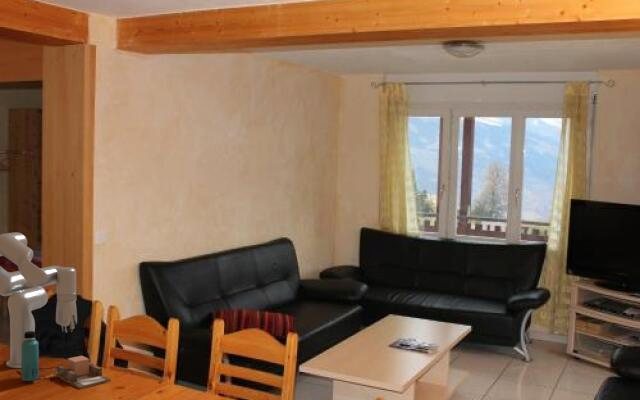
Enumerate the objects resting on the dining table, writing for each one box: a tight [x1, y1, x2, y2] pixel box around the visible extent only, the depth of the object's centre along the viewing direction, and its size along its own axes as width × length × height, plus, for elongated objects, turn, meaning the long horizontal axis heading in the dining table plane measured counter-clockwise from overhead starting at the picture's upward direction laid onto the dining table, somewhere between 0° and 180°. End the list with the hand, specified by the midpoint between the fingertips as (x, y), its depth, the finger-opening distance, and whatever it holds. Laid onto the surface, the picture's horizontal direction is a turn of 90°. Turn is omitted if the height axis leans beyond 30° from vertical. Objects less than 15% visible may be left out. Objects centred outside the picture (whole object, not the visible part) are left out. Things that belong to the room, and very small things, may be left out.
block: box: [67, 355, 90, 376], centre depth 271 cm, size 6×6×6 cm
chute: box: [55, 361, 112, 390], centre depth 268 cm, size 20×13×4 cm, turn 46°
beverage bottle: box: [20, 331, 40, 382], centre depth 262 cm, size 6×7×20 cm
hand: (67, 341), depth 277 cm, fingers closed
